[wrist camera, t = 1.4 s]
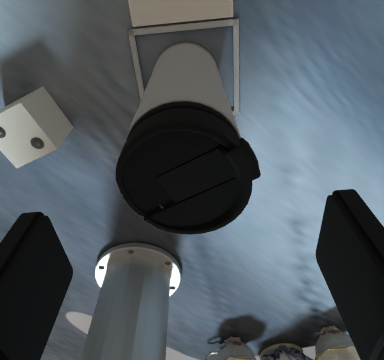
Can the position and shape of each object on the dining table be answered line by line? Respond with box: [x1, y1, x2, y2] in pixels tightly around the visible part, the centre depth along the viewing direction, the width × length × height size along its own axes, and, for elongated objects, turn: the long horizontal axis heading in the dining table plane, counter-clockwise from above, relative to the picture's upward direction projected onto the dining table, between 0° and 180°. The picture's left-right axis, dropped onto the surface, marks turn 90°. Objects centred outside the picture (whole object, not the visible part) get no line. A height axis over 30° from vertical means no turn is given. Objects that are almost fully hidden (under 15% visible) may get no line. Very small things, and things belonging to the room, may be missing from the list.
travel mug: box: [116, 42, 261, 234], centre depth 21 cm, size 6×7×20 cm
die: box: [0, 86, 74, 168], centre depth 30 cm, size 5×5×5 cm
